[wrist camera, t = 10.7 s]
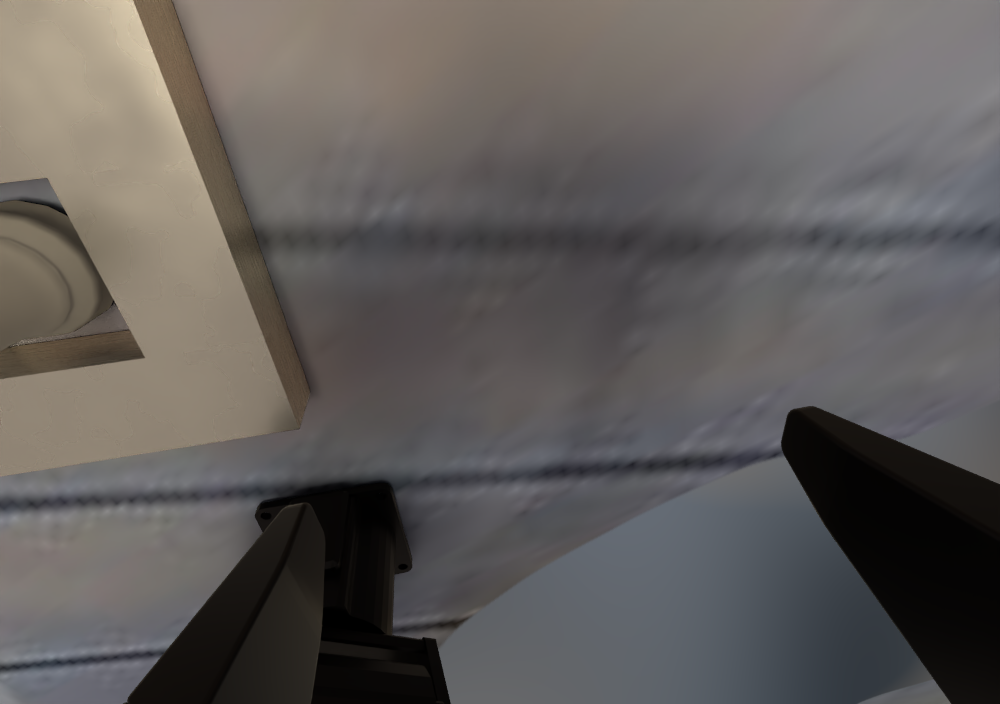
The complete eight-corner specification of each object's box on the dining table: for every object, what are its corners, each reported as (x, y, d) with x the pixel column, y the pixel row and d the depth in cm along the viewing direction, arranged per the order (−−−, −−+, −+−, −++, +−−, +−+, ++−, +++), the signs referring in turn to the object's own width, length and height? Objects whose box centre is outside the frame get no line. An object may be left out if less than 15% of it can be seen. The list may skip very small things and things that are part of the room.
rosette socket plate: (310, 391, 22) (299, 428, 20) (-37, 444, 21) (-87, 490, 19) (169, -4, 15) (128, -12, 12) (-377, 49, 14) (-523, 50, 11)
